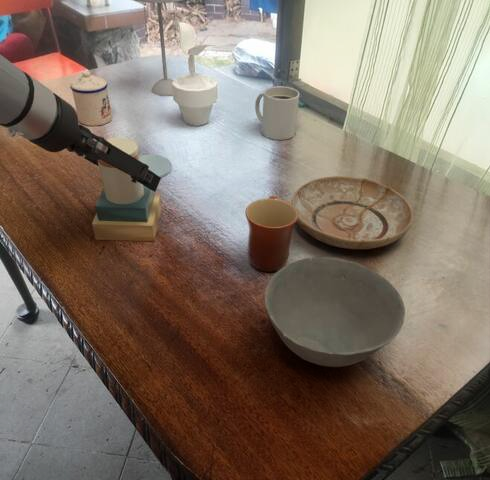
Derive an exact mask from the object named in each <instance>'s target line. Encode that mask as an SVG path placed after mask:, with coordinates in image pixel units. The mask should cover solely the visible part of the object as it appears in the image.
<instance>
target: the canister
mask: <svg viewBox="0 0 490 480" xmlns="http://www.w3.org/2000/svg"><path fill="white" fill-rule="evenodd" d="M105 140H106V141H108V142H109V143H111V144H112V145H114V146H116V147H117V148H119V149H121V150H122V151H124V152H125V153H127V154H129V155H130V156H132V157H134V158H135V159H137V160H139V161H140V155H141V154H140V149H139V145H138V143H137V141H135V140H133V139H131V138H127V137H111V138H107V139H105ZM97 162H98V166H99V167H98V166H97V167H98V169H99V174H100V180H101V185H102V190H103V189H104V193H105V197H106V199H107V200H108V201H109V202H111V203H114V204H131V203H134V202H137V201H139V200H140V199H142V198H143V196H144V194H145V191H144V185H142V184H141V183H139V182H136V183H134V182H132V178H131V176H130V175H128V174H126V173H124V172H122V171H120V170H119V169H117V168H115V167H113V166H111V165H109V164H107V163H105V162H103V161H102V160H100V159H99V160H97Z"/></svg>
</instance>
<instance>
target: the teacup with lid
mask: <svg viewBox="0 0 490 480" xmlns="http://www.w3.org/2000/svg"><path fill="white" fill-rule="evenodd" d="M69 88H70V90H71V92H72V96H73V100H74V104H75V111H76V113H77V116H78V122H80V124H81V125H85V126H89V127H91V126H93V127H95V126H97V127H98V126H103V125H106V124H108V123H110V122H111V121H112V119H113V114H112V109H111V108H112V107H111V103H110V97H109V92H108V82H107V81H106V80H105V79H104V78H102V77H99V76H95V75H93V74H91V71H89V70H84V71H82V72H81V75H80V76H78V77H77V78H75V79H73V80H72V81H71V82H70V85H69Z"/></svg>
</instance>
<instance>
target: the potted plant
mask: <svg viewBox="0 0 490 480" xmlns="http://www.w3.org/2000/svg"><path fill="white" fill-rule="evenodd" d="M174 15H175V21H174V20H173V21H172V24H173V25H174V28H175V31H178V29H179V39H178V37H176V40H175V43H176V44H177V45H180V49H181V51H182V52H183V53H184V54H185V55H188V59H187V62H188V71H189V74H188V75H181V76H179V77H176V78H174V79H172V80H173V83H172V89H173V95H172V101H174V102H175V103H176V104H177V106H178V109H179V111H180V114H181V116H182V118H183V121H184V122H185V123H186V124H187V125H190V126H194V127H195V126H196V127H199V126H203V125H205V124H208V123H209V120H210V117H211V113H212V109H213V106H214V104H216V103H217V101H218V81H217V80H216V79H215V78H214V77H211V76H207V75H203V74H201V73H196V66H195V56H199V55H200V54H201V53H202V52H203V51H204V50H205V49H206V48H207V47H214V46H215V45H216V44H214V43H206V44H198V45H196V43H197V33H196V29H195V28H194V27H193V26H192V25H191V24H189V23H188V22H181V21H178V19H177V14H176V13H174ZM167 34H168V35H167V36H166V38H168V40H169V42H170V41H171V38H172V36H171V35H170V33H167Z"/></svg>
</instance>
